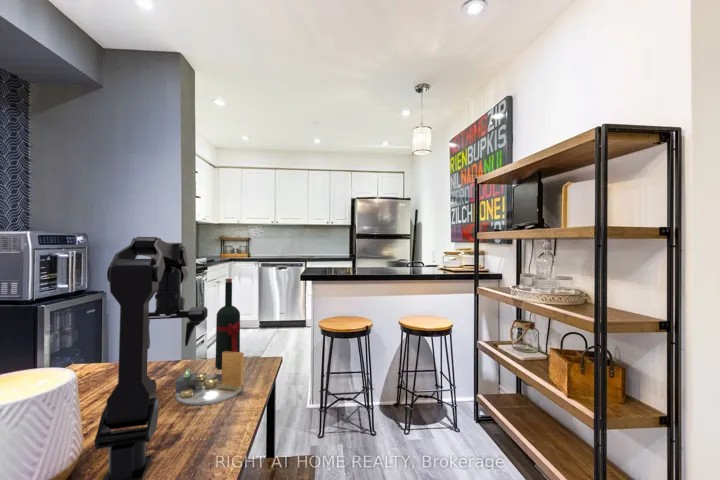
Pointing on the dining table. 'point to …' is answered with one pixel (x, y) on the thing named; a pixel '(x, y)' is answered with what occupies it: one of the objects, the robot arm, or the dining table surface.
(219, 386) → the lever
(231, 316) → the wine bottle
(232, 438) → the dining table surface
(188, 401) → the levelling plate
